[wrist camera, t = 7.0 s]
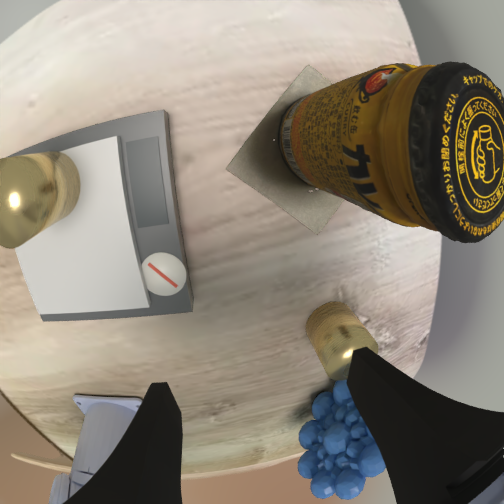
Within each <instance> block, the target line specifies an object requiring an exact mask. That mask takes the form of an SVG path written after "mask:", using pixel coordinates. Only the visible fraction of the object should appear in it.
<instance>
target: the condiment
mask: <svg viewBox="0 0 504 504" xmlns="http://www.w3.org/2000/svg"><path fill="white" fill-rule="evenodd" d="M273 139H275V141H273ZM226 170H228V171H229V172H231V173H232V174H233V175H235V176H237V177H238V178H239V179H241V180H242V181H244V182H245V183H247V184H248V185H249V186H251V187H252V188H254V189H255V190H257V191H258V192H259V193H261V194H262V195H264V196H265V197H267V198H268V199H269V200H271V201H272V202H273V203H275V204H276V205H278V206H279V207H280V208H282V209H283V210H284V211H286V212H287V213H289V214H290V215H292V216H293V217H294V218H295V219H297V220H298V221H299V222H301V223H302V224H304V225H305V226H306V227H307V228H309V229H310V230H311V231H313V232H314V233H315V234H317V235H318V234H319V233H320V231H321V230H322V229H323V228H324V226H325V225H326V224H327V222H328V221H329V219H330V218H331V217H332V215H333V214H334V213H335V212H336V211H337V209H338V207H339V206H340V204H341V203H342V202H343V201H344V200H347V201H349V202H351V203H353V204H355V205H358V206H360V207H361V208H363V209H365V210H367V211H370V212H372V213H374V214H377V215H379V216H381V217H382V218H384V219H387V220H389V221H391V222H393V223H396V224H399V225H402V226H406V227H419V226H422V227H425V228H427V229H430V230H433V231H439V232H440V233H441V234H442V235H444V236H446V237H448V238H449V239H451V240H453V241H460V242H462V243H476V242H479V241H481V240H483V239H484V238H485V237H487V236H489V235H490V234H491V233H492V232H493V231H494V230H495V229H496V228H497V227H498V226H499V225H500V223H501V222H502V221H503V219H504V98H503V96H502V93H501V90H500V89H499V88H498V87H496V86H495V84H494V83H493V82H492V81H491V79H490V78H489V77H488V76H487V75H486V74H484V73H483V72H481V71H479V70H477V69H476V68H473V67H471V66H470V65H469V64H466V63H458V62H445V63H442V64H438V65H424V66H419V67H418V66H415V65H411V64H404V63H401V64H399V63H396V64H390V65H383V66H380V67H378V68H375V69H373V70H370V71H367V72H364V73H362V74H359V75H356V76H353V77H350V78H348V79H345V80H342V81H340V82H337V83H335V84H331V83H330V82H329V81H328V80H327V79H326V78H325V77H323V76H322V75H321V74H320V73H319V72H317V71H316V70H315V69H314V68H312V67H311V66H310V65H308V66H307V67H306V68H305V69H304V70H303V71H302V73H301V74H300V75H299V76H298V77H297V78H296V79H295V81H294V82H293V83H292V84H291V85H290V87H289V88H288V89H287V90H286V91H285V93H284V94H283V95H282V96H281V97H280V99H279V100H278V101H277V102H276V104H275V105H274V106H273V107H272V109H271V110H270V111H269V112H268V113H267V115H266V116H265V118H264V119H263V120H262V122H261V123H260V124H259V126H258V127H257V128H256V129H255V130H254V132H253V133H252V134H251V136H250V137H249V138H248V140H247V141H246V142H245V144H244V145H243V146H242V148H241V149H240V151H239V152H238V153H237V155H236V156H235V157H234V159H233V160H232V161H231V163H230V164H229V166H228V167H227V168H226ZM315 188H319V190H315ZM309 190H313V192H311V193H310V192H308V191H309Z"/></svg>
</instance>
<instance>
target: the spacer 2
mask: <svg viewBox="0 0 504 504" xmlns="http://www.w3.org/2000/svg"><path fill="white" fill-rule="evenodd" d="M306 333H307V335H308V337H309V339H310V341H311V343H312V345H313V347H314V349H315V351H316V353H317V355H318V357H319V359H320V361H321V363H322V365H323V367H324V369H325V371H326V373H327V375H328V376H329V377H330V378H331V379H333V380H339V381H341V380H347V378H348V373H349V369H350V364H351V359H352V353H353V350H356V349H360V348H363V347H368V348H369V349H371V350H372V351H373V352H375V353H376V354H378V344H377V342H376V341H375V340H374V338H373V337H372V336H371V334H370V333H369V332H368V331H367V329H366V328H365V327H364V326H363V324H362V323H361V322H360V320H359V319H358V318H357V317H356V315H355V314H354V313H353V312H352V310H351V309H350V308H349V307H348V306H347V305H346V304H344V303H342V302H330V303H327V304H324V305H322V306H320V307H319V308H317V309H316V310H315V311H314V312H313V313H312V314H311V316H310V317H309V319H308V321H307V324H306Z"/></svg>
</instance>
